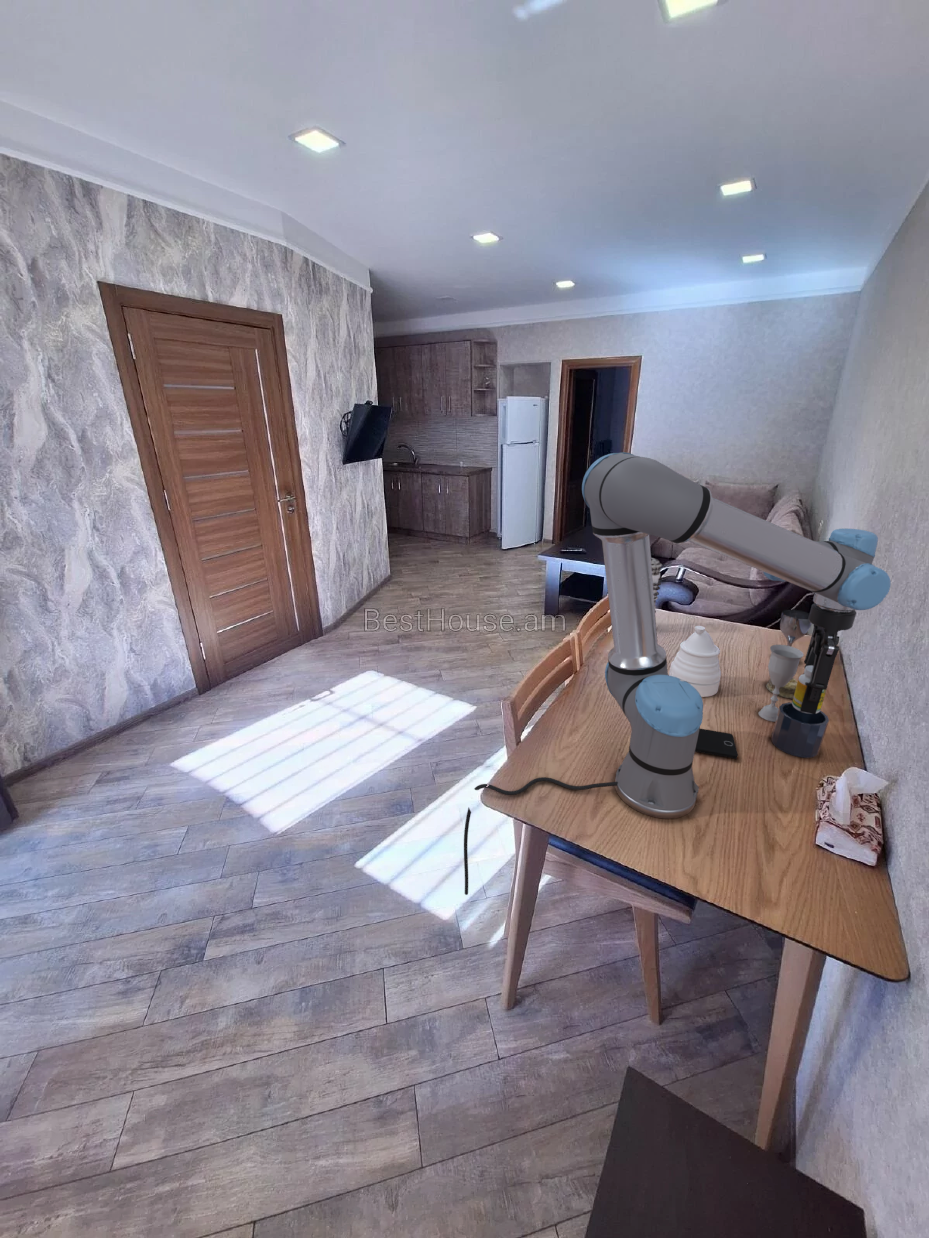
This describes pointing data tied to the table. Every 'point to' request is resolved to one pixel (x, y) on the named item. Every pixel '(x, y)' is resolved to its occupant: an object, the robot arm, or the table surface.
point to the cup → (799, 731)
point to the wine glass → (794, 625)
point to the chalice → (780, 674)
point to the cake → (784, 688)
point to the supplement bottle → (802, 688)
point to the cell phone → (716, 743)
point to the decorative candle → (656, 577)
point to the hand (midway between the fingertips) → (806, 704)
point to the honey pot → (698, 663)
